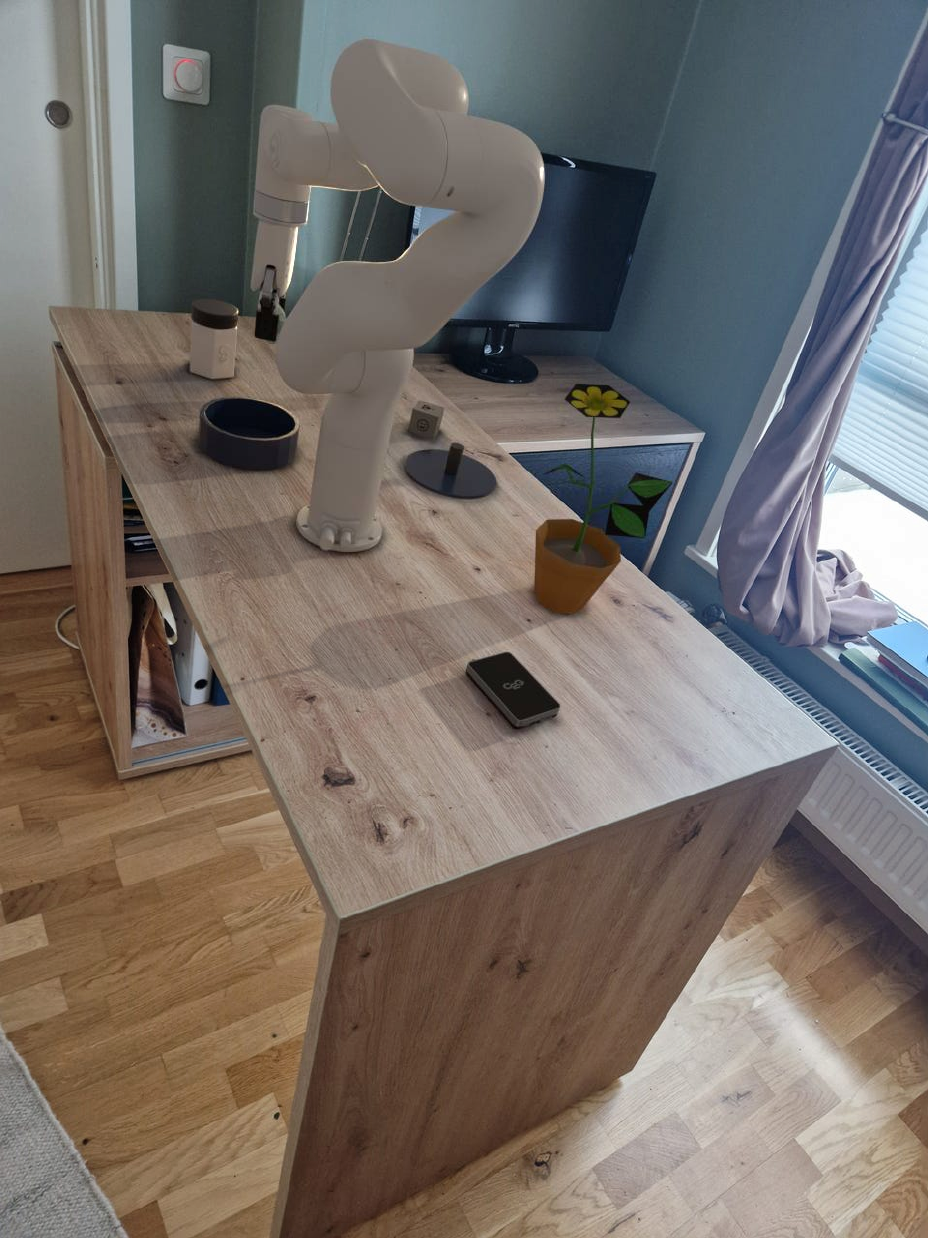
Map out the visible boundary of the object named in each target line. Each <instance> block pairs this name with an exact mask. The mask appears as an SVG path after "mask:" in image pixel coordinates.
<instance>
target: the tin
mask: <svg viewBox="0 0 928 1238" xmlns="http://www.w3.org/2000/svg"><path fill="white" fill-rule="evenodd" d="M198 423H199V424H198V445H199V448H200V449H201V451H202V453H204V455H205V456H207V457H208V458H209V459H211V460H213V461H215V462H217V463H219V464H221V465H224V466H227V467H229V468H234V469H238V470H243V471H253V472H254V471H255V472H266V471H273V470H278V469H282V468H285V467H287V466H288V465H291V463H293V461H295V459H296V454H297V451H298V450H297V449H298V442H299V435H300V428H301V427H300V422H299V419H298V417H297V416H295V415H294V414H293V413H292V412H291V411H290V410H288V409H287V408H285V407H283V406H281V405H280V404H276V403H274V402H271V401H268V400H264V399H260V398H255V397H248V396H247V397H246V396H224V397H219V398H215V399H211V400H209V401H208V402H206V403H204V404H203V405H202V406H201V408H200V410H199V421H198Z"/></svg>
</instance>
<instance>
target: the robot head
mask: <svg viewBox="0 0 928 1238" xmlns="http://www.w3.org/2000/svg"><path fill="white" fill-rule="evenodd" d="M273 302H274V301H273ZM273 305H274V304H273ZM257 310H258V308H257V309H256V311H257ZM277 315H279V319H278V329H277V339H276V341H275V342H272V341H268V340H265V341H266V342H267V343H268V344H269V345H275V344H276V345H277V341H278V337H279V334H280V331H281V329H282V326H283V324H284V322H285V321H286V319H287V316H286V312H285V313H284V310H283V309H282V308H281V306H280V305H279V304H278V310H277Z"/></svg>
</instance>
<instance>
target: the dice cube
mask: <svg viewBox="0 0 928 1238" xmlns="http://www.w3.org/2000/svg"><path fill="white" fill-rule="evenodd" d="M411 409H412V410H411V414H410V418H409V424H408V429H407V432H409V433H412V434H416V435H419V436H422V437H425V438H429V439H432V440H434V439H435V437H436V436H437V434H438V432H439V431H440V429H441V424H442V420H443V415H444V412H445V407H443V406H440V405H438V404H435V403H430V402H427V401H425V400H421V399H418V401H417V402H416V403H415V404H414V406H413V408H411Z"/></svg>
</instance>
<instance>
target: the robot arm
mask: <svg viewBox="0 0 928 1238" xmlns="http://www.w3.org/2000/svg"><path fill="white" fill-rule="evenodd" d="M329 94H330V95H329V96H330V104H331V108H332V111H333V115H334V118H335V120H336V122H337V123H331V122H326V121H325V122H324V121H320V120H317V121H316V119H315V118H314V116H312V115H311V114H309V113H308V112H306V111H303V110H301V109H298V108H294V107H290V106H286V105H280V104H269V105H267V106H265V107H264V108H263V109H262V111H261V114H260V120H259V131H258V132H259V134H258V145H257V158H256V169H255V171H256V172H255V184H254V195H253V196H254V198H253V211H252V214H253V215H254V217H256V218H257V219H259V220H258V224H257V229H256V230H257V231H256V237H255V244H254V245H255V246H254V253H253V261H252V271H251V280H250V289H251V291H252V292H256V291H259V296H258V303H257V309H258V310H257V309H256V311H255V313H256V314H255V324H254V337H255V338H256V339H259V340H264V341H266V340H268V341H272V342H275V341H276V339H277V329H278V319H279V315H277V310H278V304H279V305H280V306H281V308H282V309H283V310H284V313H285V314H286V304H287V298H286V295H287V290H288V289H289V285H290V284H291V279H292V275H293V270H294V265H295V264H294V263H295V256H296V248H297V239H298V230H299V228H304V227H306V226H307V223H308V215H309V206H310V205H309V204H310V196H311V189H312V187H314V188H316V187H317V188H325V189H334V190H341V191H348V192H361V191H367V190H371V189H373V188H377V187H380V188H381V189H382V190H383V192H384V193H386V195H388V196H389V197H390V198H392V200H395V201H397V202H399V203H401V204H404V205H407V206H413V207H418V208H419V207H420V208H427V209H437V210H446V211H453V212H452V213H450V214H449V215H447V216H445V217H443V218H442V219H440V220H438V221H436V222H434V223H432V224H431V225H429V226H428V227H426V228H425V229H424V230H423V231H422V232H421V233H420V234H419V235H417V236H416V237H415V239H414V240H413V241H412V243H411V244H410V245H409V247H408V248H407V249H406V250H405V251H404V252H403V254H402V255H401V256H399V257H398V258H397V259H396V260H393V261H385V262H374V261H373V262H371V261H357V260H350V261H349V260H348V261H345V260H344V261H337V262H334V263H331V264H329V265H326V266H325V267H323V268H322V269H321V270H319V271H318V272H317V273H316V274H315V276H314V277H313V278H312V280H311V281H310V282H309V284H308V285H307V287H306V288H305V290H304V292H303V293H302V295H300V297H299V299H298V301H297V302H296V304H295V305H294V307H293V308H292V310H291V311H290V313H289V314H288V316H286V318H287V319H286V321H285V322H284V324H283V326H282V329H281V331H280V334H279V337H278V341H277V343H276V348H275V361H276V367H277V371H278V373H279V375H280V378H282V380H283V382H284V383H285V384H286V385H287V386H288V387H289V388H291V389H292V390H293V391H295V392H298V393H301V394H305V395H324V394H326V395H327V394H330V397H329V398H328V400H327V402H326V404H325V406H324V409H323V411H322V415H321V421H320V427H319V434H318V440H317V441H318V442H317V448H316V454H315V455H316V456H315V462H314V470H313V476H312V484H311V491H310V497H309V504H306V505H305V506H303V507H302V508H300V509H299V510H298V512H297V515H296V520H295V525H296V529H297V530H298V532H299V534H301V536H302V537H303V538H304V539H306V540H307V541H308V542H310V543H312V544H314V545H315V546H318V547H319V548H320V549H321V550H323V551H335V552H339V553H340V552H341V553H357V552H363V551H366V550H369V549H371V548H373V547H375V546H377V544H378V543H380V540H381V538H382V534H383V527H382V523H381V522H380V521H379V519H378V517H376V511H377V506H378V505H377V504H378V499H379V495H380V490H381V485H382V479H383V476H384V469H385V464H386V458H387V454H388V450H389V449H388V448H389V444H390V439H391V435H392V430H393V425H394V420H395V416H396V413H397V408H398V405H399V403H400V399H401V397H402V394H403V392H404V389H405V387H406V386H407V385H406V384H407V383H408V380H409V378H410V375H411V373H412V369H413V364H414V358H415V349H417V348H420V347H422V346H424V345H425V344H427V343H428V342H429V341H430V340H432V338H433V337H435V335H437V334H438V333H439V332H440V330H441V329H442V328H443V327H444V326H445V325H446V324H447V323H448V322H449V321H450V320H451V319H452V318H454V316H455V315H456V314H457V313H458V312H459V311H460V310H461V309H462V308H463V306H464V305H466V303H467V302H468V301H469V299H471V298H472V296H473V295H474V294H475V293H477V292H478V290H479V289H480V288H482V287H483V286H484V285H485V284H486V283H487V282H489V281H490V280H491V279H492V278H493V277H495V276H496V275H497V274H498V273H499V272H500V271H501V270H503V268H505V267H506V266H507V264H509V263H510V262H511V261H512V259H513V258H514V257H515V256H516V255H517V254H518V253H519V251H520V250H521V249H522V248H523V246H524V245H525V243H526V242H527V240H528V239H529V236H530V235H531V233H532V231H533V229H534V227H535V225H536V222H537V219H538V217H539V214H540V211H541V207H542V203H543V197H544V193H545V192H544V190H545V182H546V181H545V180H546V173H545V164H544V163H545V162H544V160H543V156H542V153H541V151H540V149H539V147H538V146H537V144H536V143H535V142H534V141H533V140H532V139H531V138H530V137H529V136H528V135H527V134H525V133H524V132H523V131H521V130H519V129H518V128H515V127H513V126H511V125H509V124H506V123H503V122H499V121H496V120H493V119H488V118H484V117H479V116H474V115H469V114H468V111H469V105H470V102H469V100H470V97H469V91H468V87H467V84H466V82H465V79H464V77H463V75H462V74H461V72H460V71H459V69H458V68H457V67H456V66H454V65H453V64H452V63H451V62H450V61H449V60H447V59H445V58H444V57H442V56H441V55H437V54H435V53H431V52H428V51H424V50H421V49H416V48H411V47H407V46H404V45H400V44H395V43H391V42H386V41H382V40H379V39H375V38H364V39H359V40H356V41H354V42H353V43H351V44H349V45H348V46H347V47H346V48H344V50H343V51H342V52H341V54H340V55H339V56H338V58H337V60H336V62H335V64H334V67H333V70H332V73H331V79H330V92H329ZM259 289H260V290H259ZM273 301H274V302H273ZM273 304H274V305H273Z"/></svg>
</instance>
